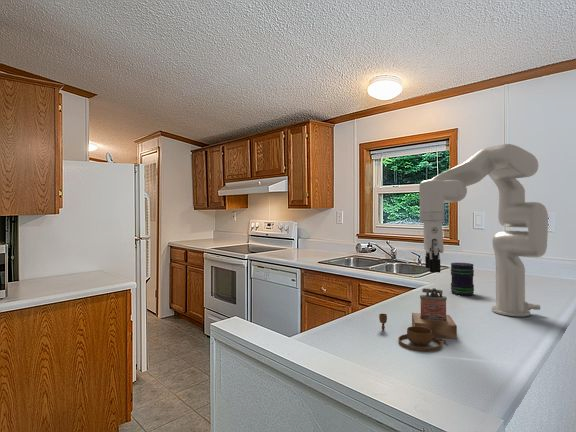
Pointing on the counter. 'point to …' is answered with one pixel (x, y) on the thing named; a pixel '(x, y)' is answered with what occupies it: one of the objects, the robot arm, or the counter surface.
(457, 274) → the storage jar
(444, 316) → the lighter
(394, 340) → the counter surface
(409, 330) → the place setting
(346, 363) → the counter surface
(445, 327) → the walnut base
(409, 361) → the counter surface
